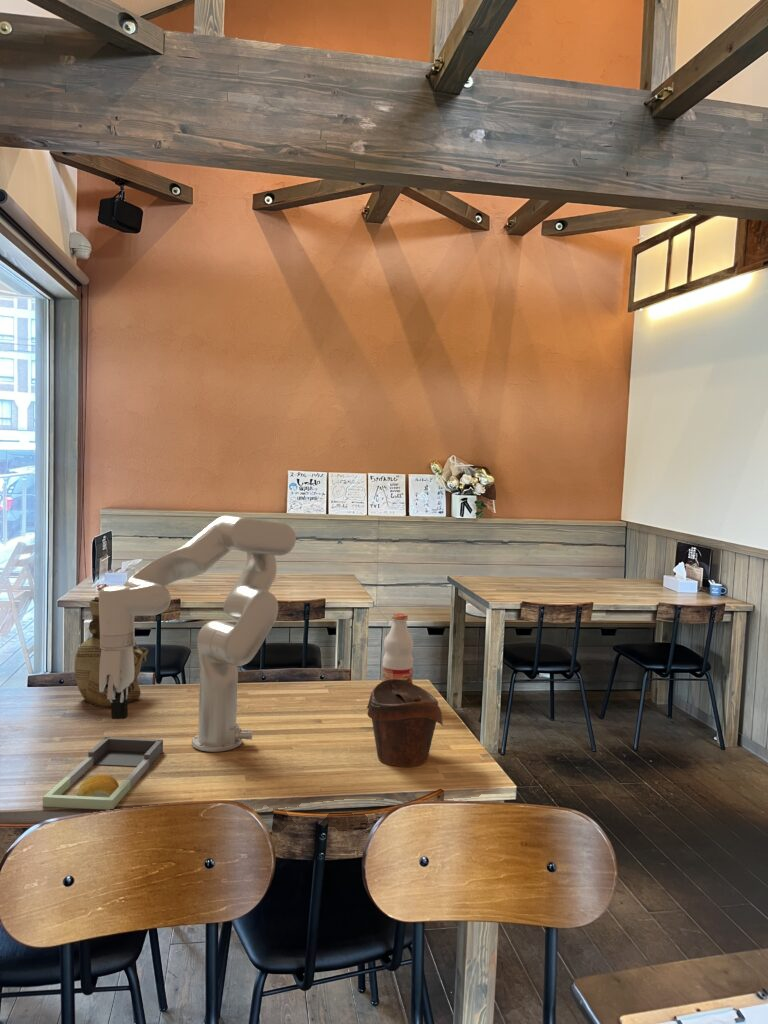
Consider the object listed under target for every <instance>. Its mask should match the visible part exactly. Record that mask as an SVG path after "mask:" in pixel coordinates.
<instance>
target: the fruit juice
mask: <svg viewBox="0 0 768 1024" xmlns="http://www.w3.org/2000/svg"><path fill="white" fill-rule="evenodd" d="M408 617H409V616H408V614H406V613H393V614H392V615H391V621H392V623H391V626H390V630H389V632H388V633H387V635H386V636H385V637H384V641H383V648H384V655H383V657H382V667H381V668H382V671H381V673H382V674H381V676H382V677H381V682H383V681H386V680H390V679H397V680H403V681H407V682H410V683H412V684H413V678H414V677H413V674H414V671H413V670H414V658H413V655H412V653H413V652H412V651H413V649H414V640H413V638H412V636H411V634H410V633H409V629H408V624H407V621H408Z"/></svg>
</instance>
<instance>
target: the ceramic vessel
mask: <svg viewBox="0 0 768 1024" xmlns="http://www.w3.org/2000/svg"><path fill="white" fill-rule="evenodd" d="M89 609H90V613H91V616H92V620H91V621H89V622H90V623H89V625H88V630H89V633H90V634H91V636H90V637H88V638H87V639H86V640H85V641H82V643H81V644H80V645H79V647H77V650H76V653H75V656H74V657H75V658H74V677H75V681H76V685H77V687H78V691H79V693H80V694H81V696H82V697H83V699H84V700H85V701H86V702H87V703H89V704H91V705H93V706H97V707H101V708H107V709H108V708H109V709H111V702H110V700H108V699H107V694H108V689H107V690H106V691H105V692H103V693H101V692H100V691H99V670H100V656H101V650H102V649H101V648H100V623H99V598H96V599H91V600H89ZM148 653H149V650H148V648H146V647H144V646H143V647H140V648H139V646H138V644H137V642H136V641H135V646H133V654H134V680H133V682H132V683H131V684H130V685H129V687H128V698H127V699H125V700H127V704H128V703H133V702H136V701H137V700H138V699H139V698H140V697H141V688H140V686H139V683H138V680H137V679H138V677H139V674H141V673H140V672H141V668H142V663H144V664H146V663H147V655H148Z"/></svg>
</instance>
